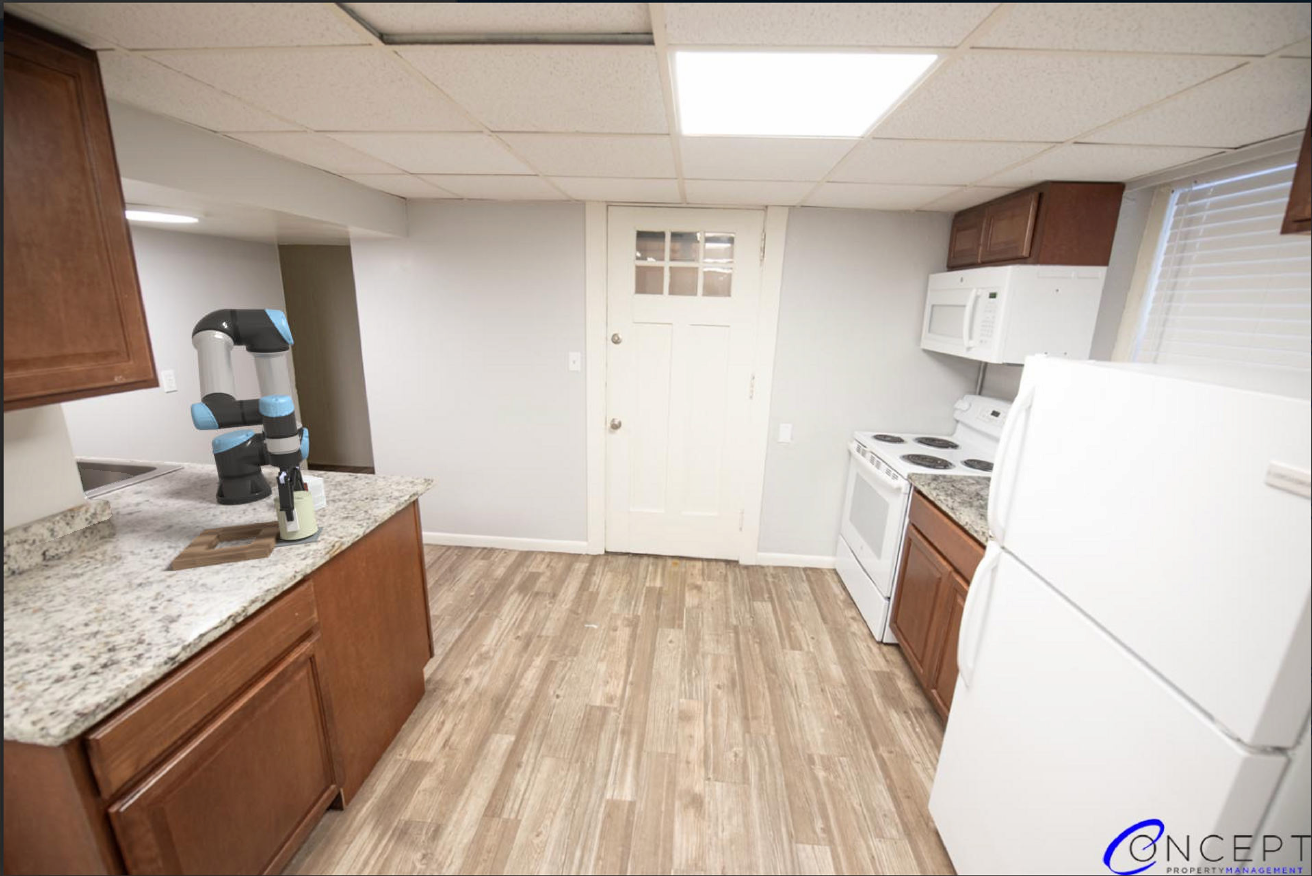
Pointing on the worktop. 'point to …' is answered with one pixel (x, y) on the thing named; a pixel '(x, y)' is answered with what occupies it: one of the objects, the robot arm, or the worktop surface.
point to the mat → (308, 539)
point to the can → (298, 516)
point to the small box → (315, 490)
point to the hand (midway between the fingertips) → (297, 523)
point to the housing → (208, 539)
